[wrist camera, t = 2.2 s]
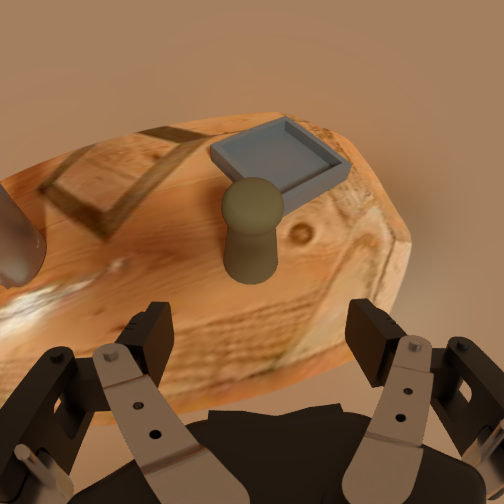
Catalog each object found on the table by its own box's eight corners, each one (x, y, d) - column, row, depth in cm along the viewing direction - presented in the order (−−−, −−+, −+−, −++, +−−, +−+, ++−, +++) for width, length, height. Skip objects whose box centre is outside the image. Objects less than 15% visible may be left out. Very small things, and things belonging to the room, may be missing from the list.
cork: (250, 227, 33) (253, 157, 24) (288, 259, 31) (307, 193, 21) (212, 259, 31) (198, 192, 21) (250, 295, 29) (253, 238, 19)
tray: (272, 223, 33) (274, 207, 31) (211, 160, 39) (210, 145, 36) (346, 179, 38) (352, 164, 35) (284, 130, 43) (286, 116, 41)
